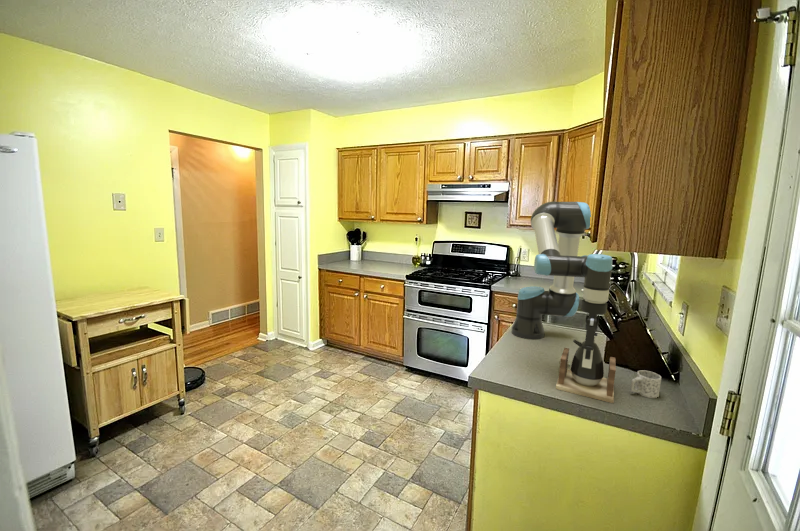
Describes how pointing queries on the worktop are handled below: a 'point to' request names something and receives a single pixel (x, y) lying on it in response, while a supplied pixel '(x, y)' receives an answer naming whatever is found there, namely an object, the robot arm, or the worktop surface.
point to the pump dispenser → (586, 374)
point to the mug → (646, 384)
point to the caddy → (599, 391)
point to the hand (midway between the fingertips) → (587, 360)
